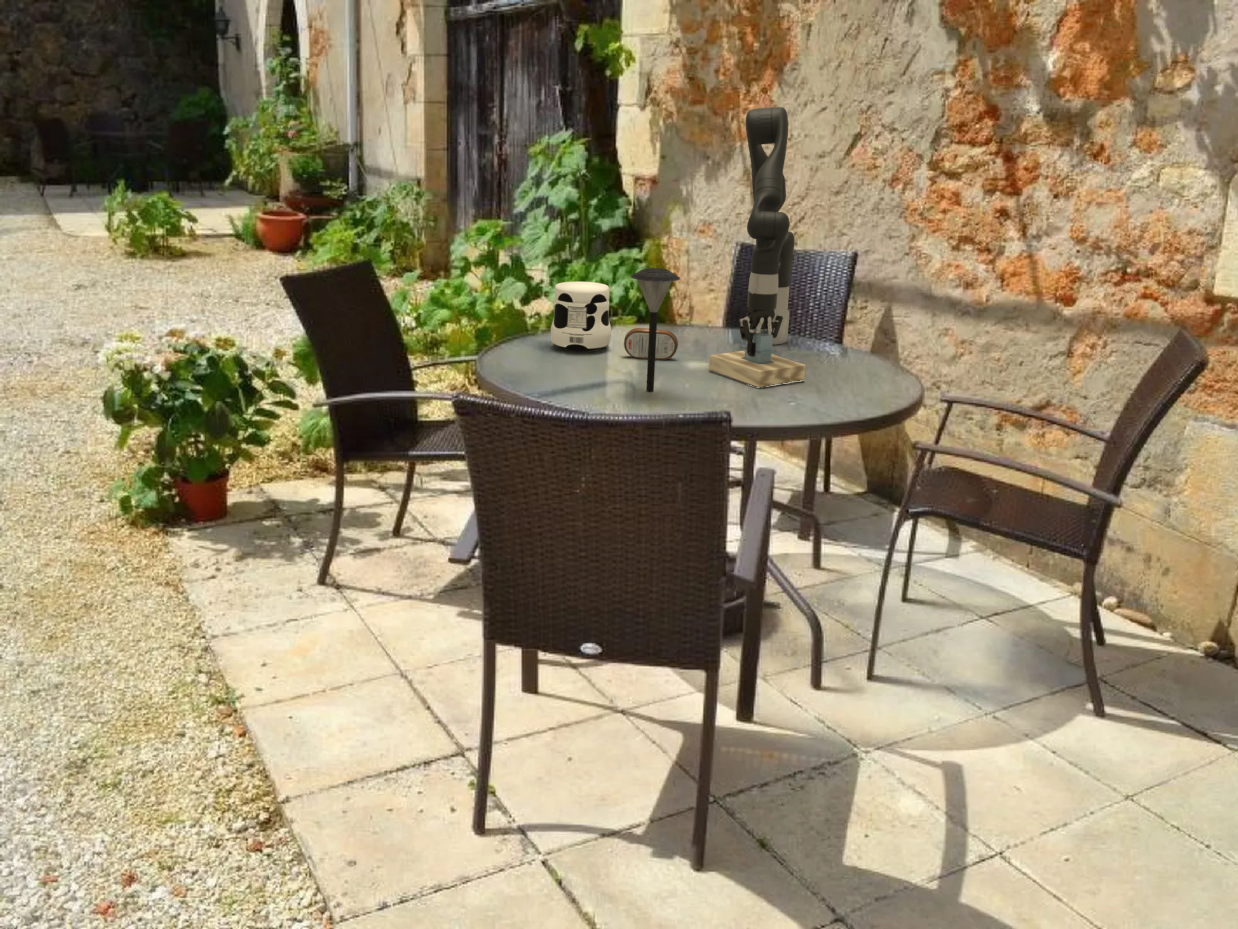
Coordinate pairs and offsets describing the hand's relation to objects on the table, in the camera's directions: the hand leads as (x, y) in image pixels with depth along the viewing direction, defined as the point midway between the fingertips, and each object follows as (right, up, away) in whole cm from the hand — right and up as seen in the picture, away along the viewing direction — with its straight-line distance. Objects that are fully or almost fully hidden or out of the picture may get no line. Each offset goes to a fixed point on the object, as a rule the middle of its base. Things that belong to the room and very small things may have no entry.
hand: (757, 354), depth 284 cm
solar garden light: (-29, -11, -16) cm, 34 cm away
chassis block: (0, -6, +2) cm, 6 cm away
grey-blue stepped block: (0, -2, +1) cm, 2 cm away
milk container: (-48, +4, +26) cm, 54 cm away
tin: (-28, 0, +17) cm, 33 cm away
